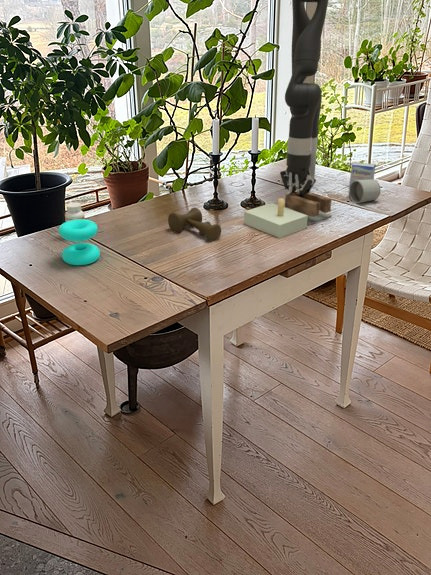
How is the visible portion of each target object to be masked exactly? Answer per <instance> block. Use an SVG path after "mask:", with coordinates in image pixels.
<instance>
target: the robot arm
mask: <svg viewBox="0 0 431 575" xmlns="http://www.w3.org/2000/svg"><path fill="white" fill-rule="evenodd" d="M291 1H292V2H291V3H292V4H291V5H292V8H291V9H292V30H291V32H292V35H291V77H290V79H289V82H288V85H287V87H286V91H285V93H284V102H285V104H286V105H287V106H288V108H289V112H290V114H291V115H292V116H291V117H290V119H289V124H288V125H289V127H288V128H289V131H288V140H287V149H286V150H287V151H286V161H285V162H286V164H285V165H286V166H287V167H286V169H285V170H282V171H280V172H279V175H280V177H281V180H282V184H283V186H284V189H285V190H287V191H288V194H290V193H293V192H297V195H296V196H299V197H302V198H303V195H304V194H307V193H309V192H311V190H312V188H313V187H314V186H315V185H314V184H315V183H316V182H317V179H316V178H315V177H316V176H315V175H316V166H317V165H316V163H317V152H318V151H317V150H318V141H319V139H318V138H319V125H320V115H321V108H322V101H323V100H322V98H323V97H322V94H323V93H322V89H321V86H320V85H319V84H318V83H313V82H311V83H307V82H305V80H306V79H307V78H308V77H313V76H314V75H316V74H317V72H318V68H319V62H320V60H321V59H320V58H321V50H322V49H321V48H322V36H323V29H324V26H325V21H326V17H327V16H326V14H327V12H328V11H327V10H328V5H329V0H291ZM305 3H317V4H316V8H315V11H314V13H313V16H312V17H311V18H310V17H309V15H308V13H307V10H306V8H305V7H306V6H305Z"/></svg>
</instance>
